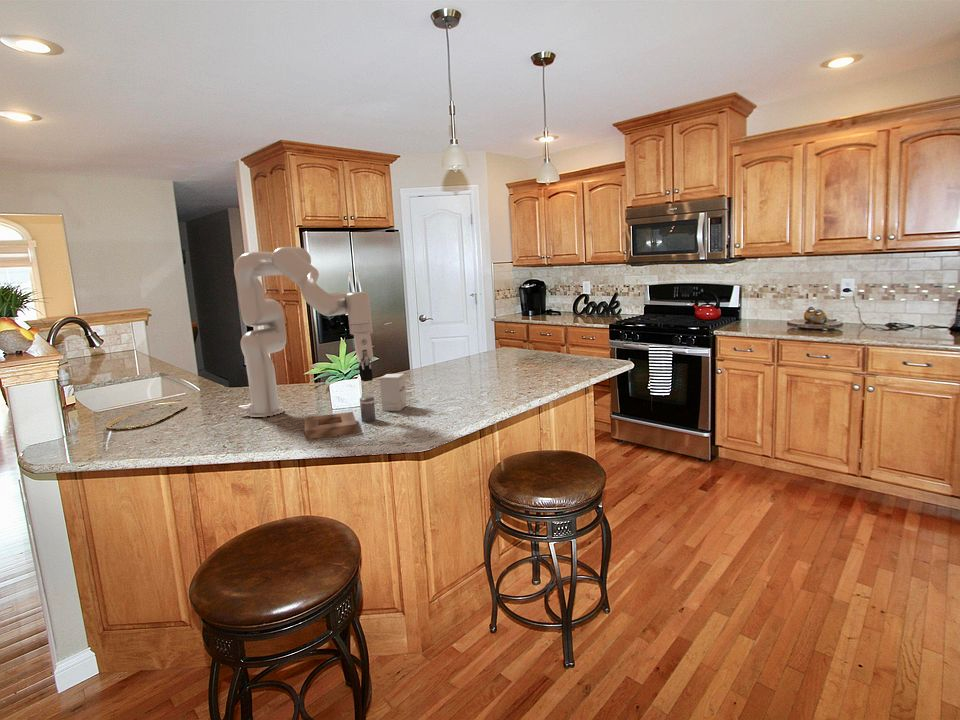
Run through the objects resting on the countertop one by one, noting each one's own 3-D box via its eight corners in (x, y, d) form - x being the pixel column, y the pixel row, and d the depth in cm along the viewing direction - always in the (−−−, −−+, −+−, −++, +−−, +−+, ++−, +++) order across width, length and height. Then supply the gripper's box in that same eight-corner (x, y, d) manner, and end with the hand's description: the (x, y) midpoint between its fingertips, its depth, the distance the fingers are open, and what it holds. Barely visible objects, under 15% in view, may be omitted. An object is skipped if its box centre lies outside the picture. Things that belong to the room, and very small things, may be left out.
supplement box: (400, 411, 195) (398, 377, 193) (381, 410, 197) (378, 377, 195) (407, 405, 202) (404, 373, 200) (388, 405, 204) (386, 373, 202)
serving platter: (94, 433, 187) (93, 429, 187) (150, 407, 222) (149, 403, 221) (148, 430, 188) (148, 425, 188) (195, 404, 222) (195, 401, 222)
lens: (362, 423, 182) (360, 400, 181) (360, 419, 187) (358, 397, 185) (376, 421, 184) (374, 398, 182) (374, 417, 188) (373, 395, 187)
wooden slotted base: (305, 440, 167) (304, 430, 166) (305, 426, 182) (304, 417, 181) (357, 432, 171) (356, 423, 171) (353, 420, 186) (352, 411, 186)
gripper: (375, 329, 172) (380, 381, 175) (369, 325, 189) (374, 372, 192) (351, 332, 170) (357, 384, 173) (347, 327, 186) (352, 375, 189)
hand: (366, 378), depth 182 cm, fingers open, 9 cm apart
